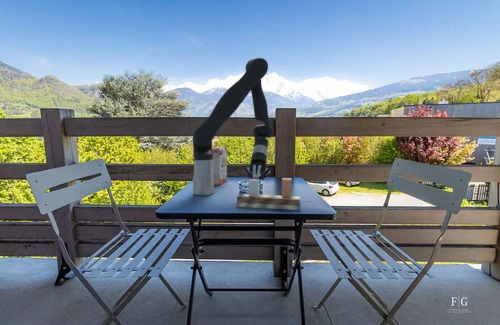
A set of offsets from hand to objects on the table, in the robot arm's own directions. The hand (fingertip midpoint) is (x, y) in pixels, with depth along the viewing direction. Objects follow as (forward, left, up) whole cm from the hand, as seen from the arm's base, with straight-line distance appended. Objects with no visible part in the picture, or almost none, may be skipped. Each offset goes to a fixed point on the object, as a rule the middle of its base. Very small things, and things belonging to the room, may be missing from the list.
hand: (255, 186), depth 123 cm
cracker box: (-27, +31, -7) cm, 42 cm away
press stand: (+7, -3, -6) cm, 10 cm away
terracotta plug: (+14, +2, -4) cm, 15 cm away
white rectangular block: (0, -3, -4) cm, 5 cm away
